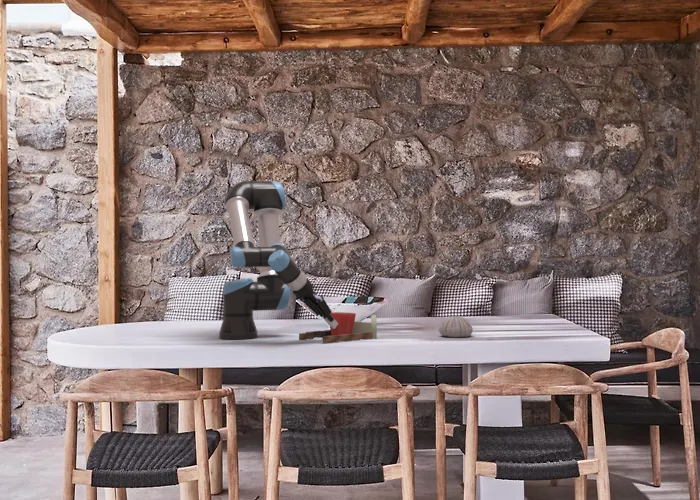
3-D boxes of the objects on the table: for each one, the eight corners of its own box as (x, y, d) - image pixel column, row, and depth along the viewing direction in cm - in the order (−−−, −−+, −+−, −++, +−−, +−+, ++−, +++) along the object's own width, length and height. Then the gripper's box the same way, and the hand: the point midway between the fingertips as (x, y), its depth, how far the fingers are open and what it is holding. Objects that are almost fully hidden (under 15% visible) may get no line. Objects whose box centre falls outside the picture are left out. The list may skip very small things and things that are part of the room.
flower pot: (355, 338, 306) (356, 313, 306) (327, 338, 305) (327, 312, 306) (355, 336, 316) (355, 312, 317) (327, 336, 316) (328, 312, 316)
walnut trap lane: (324, 343, 292) (324, 336, 293) (294, 339, 308) (294, 332, 308) (375, 338, 308) (375, 331, 308) (344, 334, 323) (344, 328, 323)
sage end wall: (373, 338, 306) (373, 315, 306) (344, 335, 321) (344, 313, 321) (377, 338, 307) (377, 315, 307) (348, 334, 322) (347, 312, 322)
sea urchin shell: (463, 334, 321) (462, 314, 321) (478, 337, 308) (478, 317, 308) (433, 335, 317) (432, 315, 317) (447, 339, 304) (447, 318, 304)
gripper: (283, 291, 299) (319, 332, 309) (303, 292, 289) (340, 334, 299) (295, 277, 302) (330, 318, 313) (315, 277, 292) (351, 319, 302)
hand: (335, 326), depth 306 cm, fingers closed
